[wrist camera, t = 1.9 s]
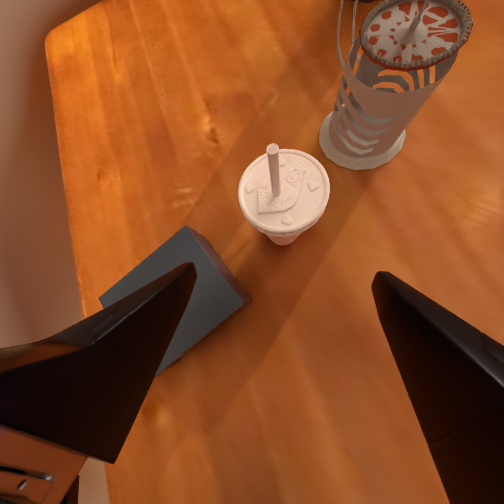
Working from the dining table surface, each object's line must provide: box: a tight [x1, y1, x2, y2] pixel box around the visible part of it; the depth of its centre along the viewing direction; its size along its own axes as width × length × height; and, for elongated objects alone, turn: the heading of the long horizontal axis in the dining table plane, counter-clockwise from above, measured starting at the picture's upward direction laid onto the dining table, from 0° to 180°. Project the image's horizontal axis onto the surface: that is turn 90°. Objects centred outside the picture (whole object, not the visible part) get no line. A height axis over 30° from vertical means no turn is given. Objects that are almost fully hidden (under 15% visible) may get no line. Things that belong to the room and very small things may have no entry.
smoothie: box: [238, 144, 330, 245], centre depth 15 cm, size 6×6×14 cm
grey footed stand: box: [99, 226, 252, 378], centre depth 20 cm, size 10×12×4 cm
